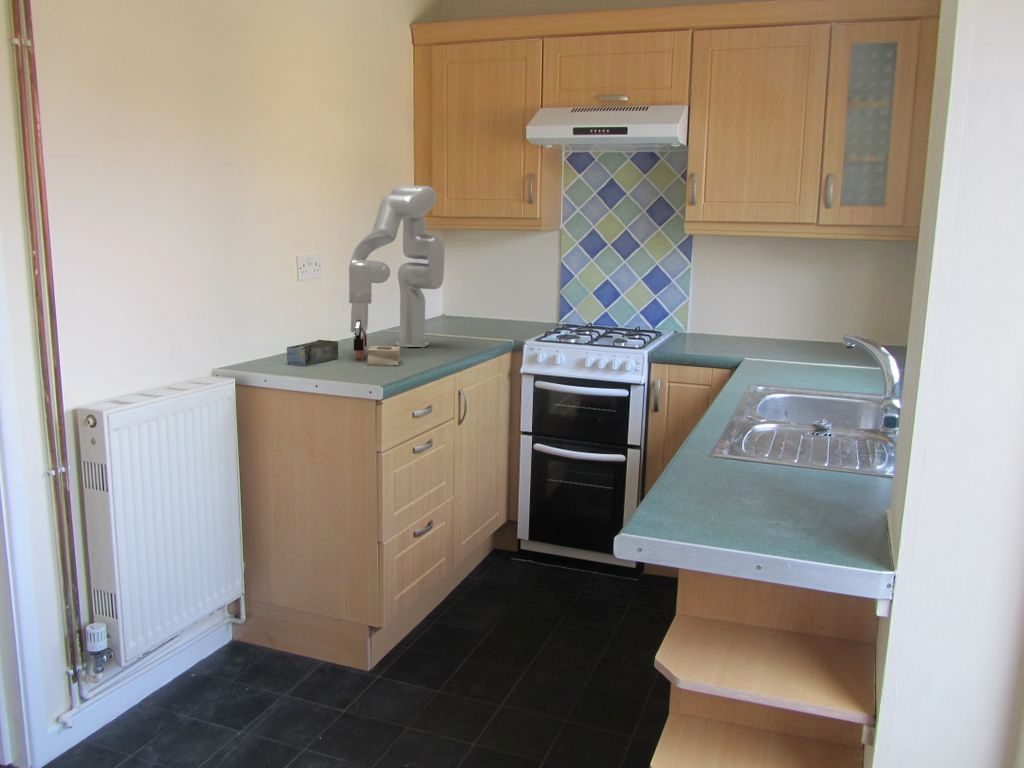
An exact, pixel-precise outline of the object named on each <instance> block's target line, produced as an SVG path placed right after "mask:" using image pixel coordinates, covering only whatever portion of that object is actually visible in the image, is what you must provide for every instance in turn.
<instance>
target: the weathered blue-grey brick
mask: <svg viewBox="0 0 1024 768" xmlns="http://www.w3.org/2000/svg"><path fill="white" fill-rule="evenodd" d="M336 359H339V342H338V340H328V339H318V340H313V341H310V342H306V343H300V344H297V345H291V346H287V347H286V362H287V363H289V364H288V365H291V364H296V365H295V366H299V365H303V366H302V367H308V366H307V365H309V366H312V365H311V364H313V365H316V363H317V364H321V363H324V362H328V360H329V361H331V360H332V361H333V360H336ZM320 362H321V363H320Z"/></svg>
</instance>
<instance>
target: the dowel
mask: <svg viewBox="0 0 1024 768" xmlns="http://www.w3.org/2000/svg"><path fill="white" fill-rule="evenodd" d="M356 358H357V359H356ZM364 358H365V359H366V347H365V332H364V333H363V351H355V359H356V360H364Z"/></svg>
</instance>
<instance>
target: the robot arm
mask: <svg viewBox="0 0 1024 768" xmlns="http://www.w3.org/2000/svg"><path fill="white" fill-rule="evenodd" d="M436 202H437V194H436V191H435V189H433V187H431V186H429V185H407V184H404V185H398V186H397V185H396V186H393V187H392V188H391V191H390V194H387V195H385V196H383V197H382V199H381V201H380V203H379V204H380V205H379V207H378V211H377V214H376V218H375V221H374V224H373V226H372V227H373V228H372V230H371V232H370V233H368V234H366V236H365V237H363V239H362V240H360V242H359V243H358V244H357V245H356V247H355V248H354V250H353V253H352V255H351V258H350V262H349V266H348V267H349V268H348V277H349V278H348V284H349V285H348V286H349V287H348V288H349V290H348V291H349V292H348V298H349V299H348V303H349V304H351V312H350V332H351V333H354V334H353V335H354V337H353V351H355V352H356V351H363V333H364V332H365V348H366V347H367V339H368V338H367V336H368V335H367V330H368V328H369V326H368V325H369V304H372V283H373V284H382V283H385V282H386V281H387V280H389V277H390V276H391V269H390V267H389V265H388V264H386V263H385V262H384V261H378V260H368V257H369V256H370V254H372V253H373V252H374V251H376V250H378V249H380V248H382V247H384V246H386V245H389V244H391V243H393V242H395V240H396V237H397V235H398V232H399V227H400V224H401V222H402V225H403V226H402V253H403V255H404V257H406V258H408V259H413V260H424V261H426V260H427V263H425V262H411V261H410V262H405V263H402V264H400V266H399V268H398V271H397V281H398V286H399V287H398V288H399V297H400V298H399V302H400V303H399V340H398V341H397V340H396V341H395V346H396V345H397V346H400V348H408V347H421V348H426V346H427V347H429V346H428V345H429V342H427V341H425V340H426V339H425V338H426V336H425V335H426V334H425V333H426V330H425V329H426V298H425V295H424V293H423V291H422V290H438V289H440V288H441V287H442V285H443V283H444V276H445V251H446V249H445V243H444V240H443V238H442V237H441V236H440V235H438V234H434V233H427V230H426V229H427V222H426V217H425V214H426V213H428V212H430V211H431V210H432V209H433V208H434V206H435V205H436Z"/></svg>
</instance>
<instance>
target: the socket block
mask: <svg viewBox="0 0 1024 768" xmlns="http://www.w3.org/2000/svg"><path fill="white" fill-rule="evenodd" d="M399 362H400V363H401V347H400V346H396V345H395V346H393V345H389V346H388V345H370V346H369V347H368V349H367V366H381V365H398V366H399V365H400V363H399Z"/></svg>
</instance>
